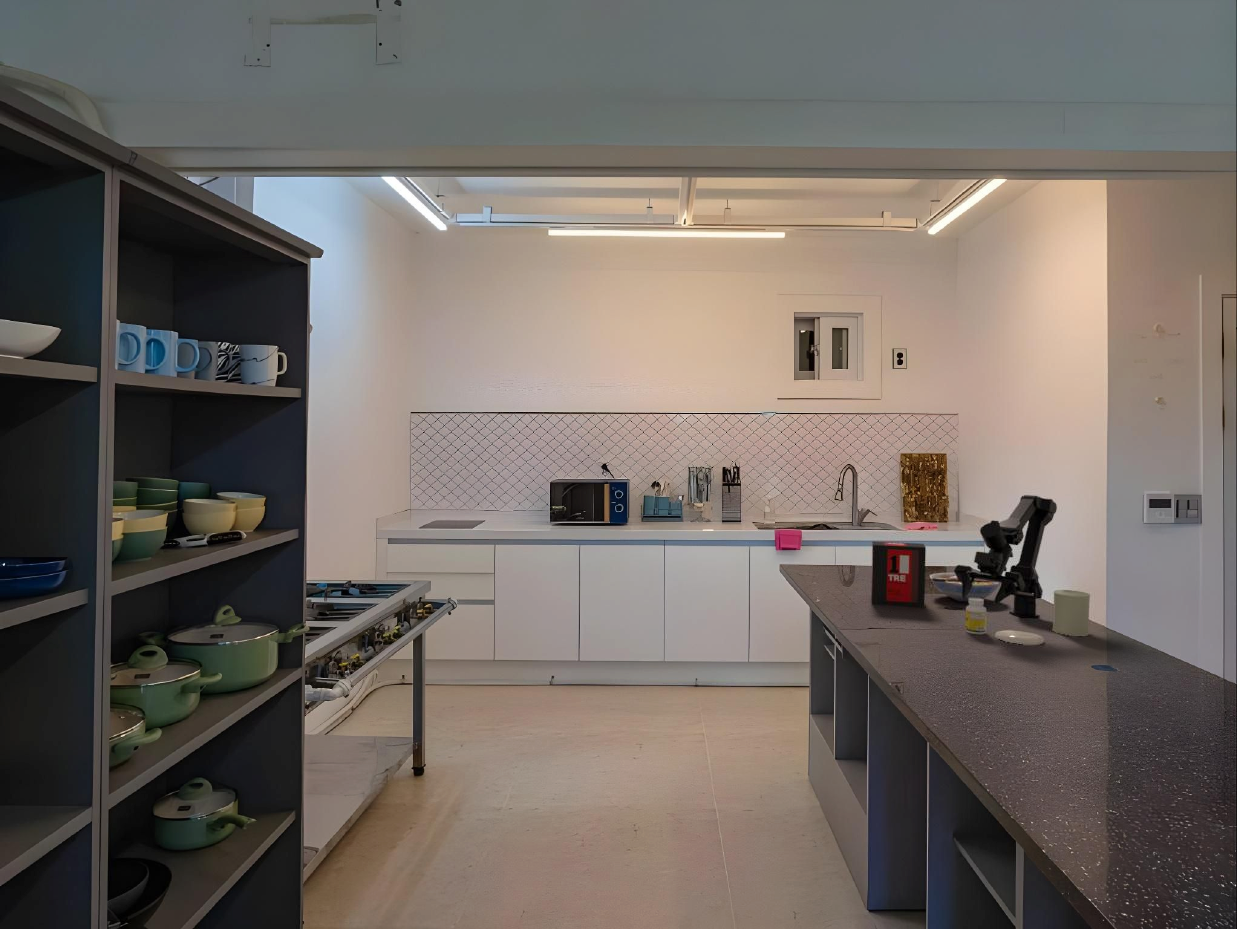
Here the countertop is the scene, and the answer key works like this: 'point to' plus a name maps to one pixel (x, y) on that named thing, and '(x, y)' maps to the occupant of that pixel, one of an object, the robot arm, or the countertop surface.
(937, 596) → the countertop surface
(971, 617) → the supplement bottle
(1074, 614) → the can
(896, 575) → the cleaning product box
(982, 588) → the ramen bowl
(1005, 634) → the coaster
